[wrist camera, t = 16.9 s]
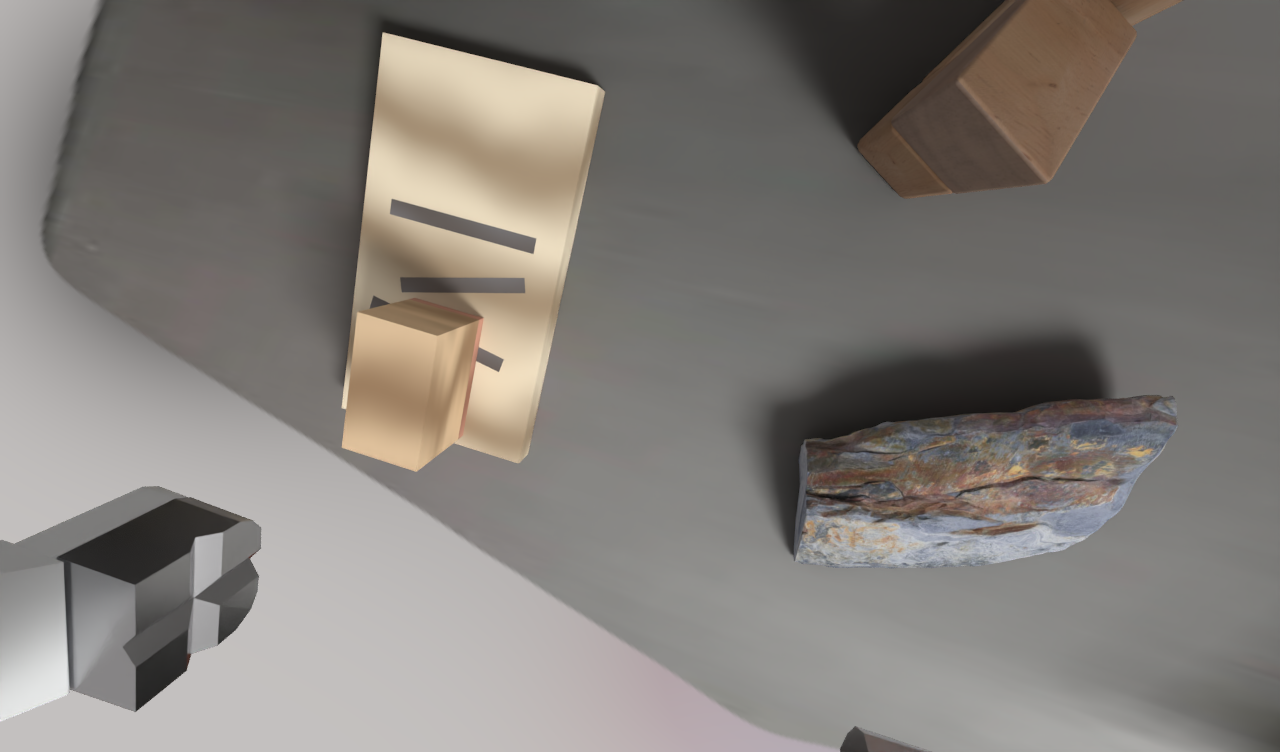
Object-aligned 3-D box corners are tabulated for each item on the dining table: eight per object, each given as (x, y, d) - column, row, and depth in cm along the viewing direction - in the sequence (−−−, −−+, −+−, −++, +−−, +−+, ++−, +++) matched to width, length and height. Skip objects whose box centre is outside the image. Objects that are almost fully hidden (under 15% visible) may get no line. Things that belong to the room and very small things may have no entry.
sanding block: (414, 297, 32) (357, 311, 27) (483, 318, 32) (437, 336, 27) (398, 415, 34) (341, 447, 29) (462, 435, 34) (416, 471, 29)
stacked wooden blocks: (852, 146, 28) (1018, 35, 11) (1058, -52, 25) (1746, -643, 8) (904, 203, 28) (1147, 182, 11) (1115, 14, 25) (1903, -417, 8)
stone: (802, 609, 33) (772, 474, 27) (792, 540, 37) (765, 411, 31) (1166, 580, 29) (1210, 415, 23) (1110, 507, 33) (1138, 352, 27)
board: (399, 41, 30) (382, 32, 29) (605, 91, 29) (598, 85, 28) (357, 400, 36) (341, 407, 35) (528, 453, 35) (518, 463, 34)
